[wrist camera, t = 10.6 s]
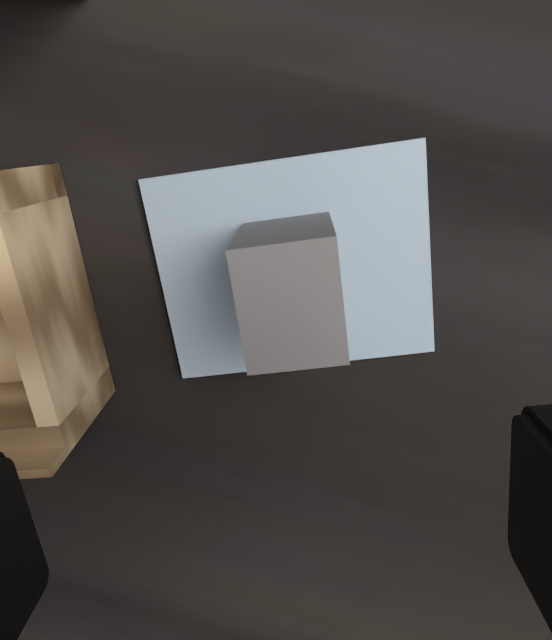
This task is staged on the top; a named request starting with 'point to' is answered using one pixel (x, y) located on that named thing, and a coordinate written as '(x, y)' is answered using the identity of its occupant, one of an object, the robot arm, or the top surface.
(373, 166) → the cover plate
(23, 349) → the beech box
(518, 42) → the top surface
